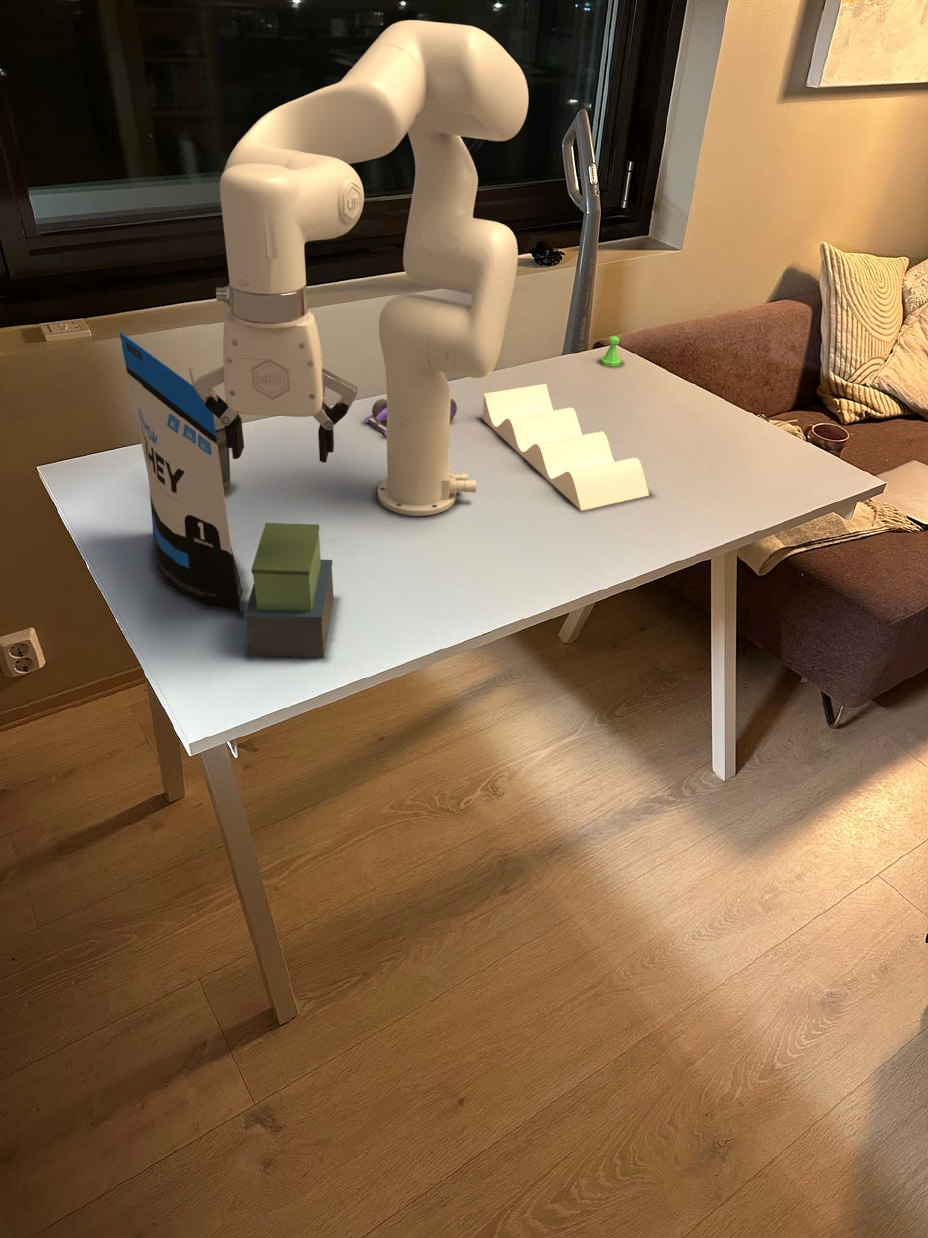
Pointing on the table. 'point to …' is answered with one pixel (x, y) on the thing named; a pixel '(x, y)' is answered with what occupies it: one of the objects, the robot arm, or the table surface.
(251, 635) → the storage box
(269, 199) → the robot arm
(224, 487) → the beverage cup
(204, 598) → the protein powder
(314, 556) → the olive green rectangular box
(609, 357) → the game piece
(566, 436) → the cream wavy block
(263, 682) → the table surface
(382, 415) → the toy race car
